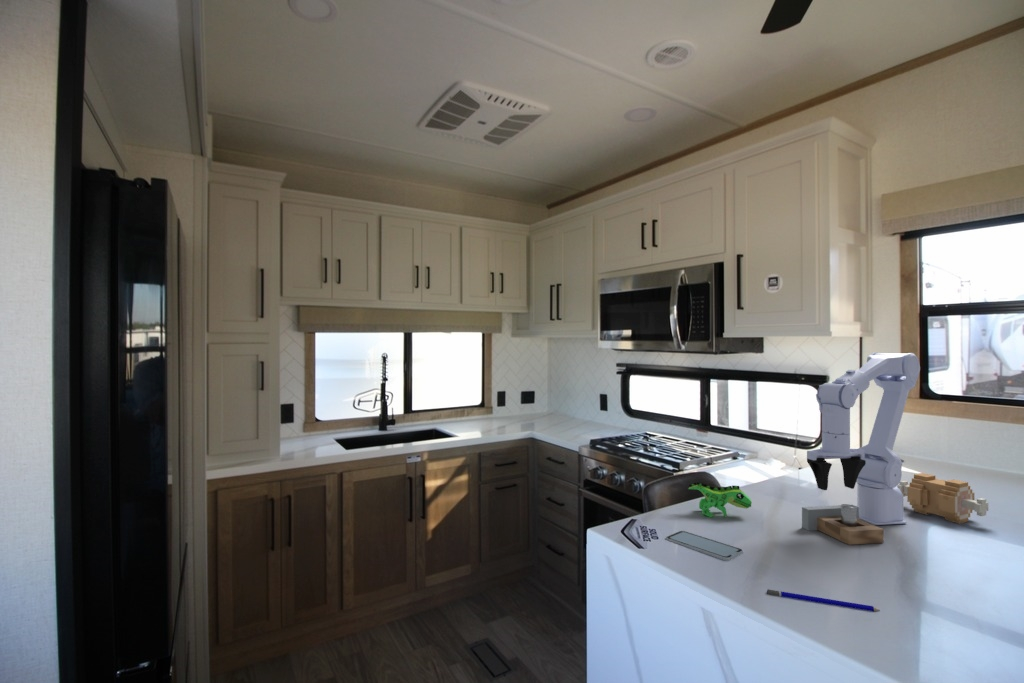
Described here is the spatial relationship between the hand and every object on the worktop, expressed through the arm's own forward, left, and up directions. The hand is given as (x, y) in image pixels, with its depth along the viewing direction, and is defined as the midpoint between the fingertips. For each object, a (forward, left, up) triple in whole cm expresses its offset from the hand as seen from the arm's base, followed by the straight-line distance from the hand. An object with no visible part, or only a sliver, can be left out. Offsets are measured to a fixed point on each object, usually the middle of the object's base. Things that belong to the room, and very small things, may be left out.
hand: (835, 488), depth 119 cm
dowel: (+1, +5, -10) cm, 11 cm away
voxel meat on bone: (-35, -4, -10) cm, 37 cm away
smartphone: (+38, +5, -10) cm, 39 cm away
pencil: (+31, +30, -10) cm, 44 cm away
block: (+1, +5, -10) cm, 11 cm away
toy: (+23, -13, -10) cm, 28 cm away
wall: (+1, -1, -10) cm, 10 cm away
